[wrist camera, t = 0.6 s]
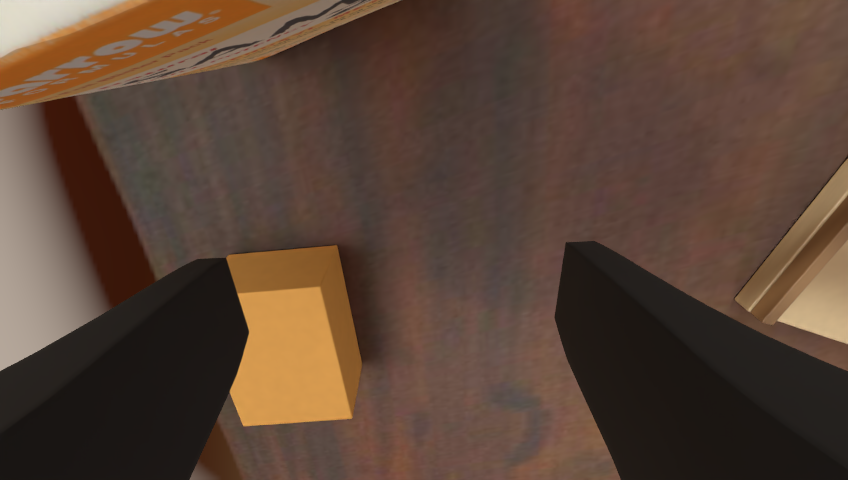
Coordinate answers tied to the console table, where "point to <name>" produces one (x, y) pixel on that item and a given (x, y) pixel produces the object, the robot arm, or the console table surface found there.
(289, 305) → the orange block
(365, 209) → the console table surface
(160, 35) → the supplement box
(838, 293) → the assembly board
